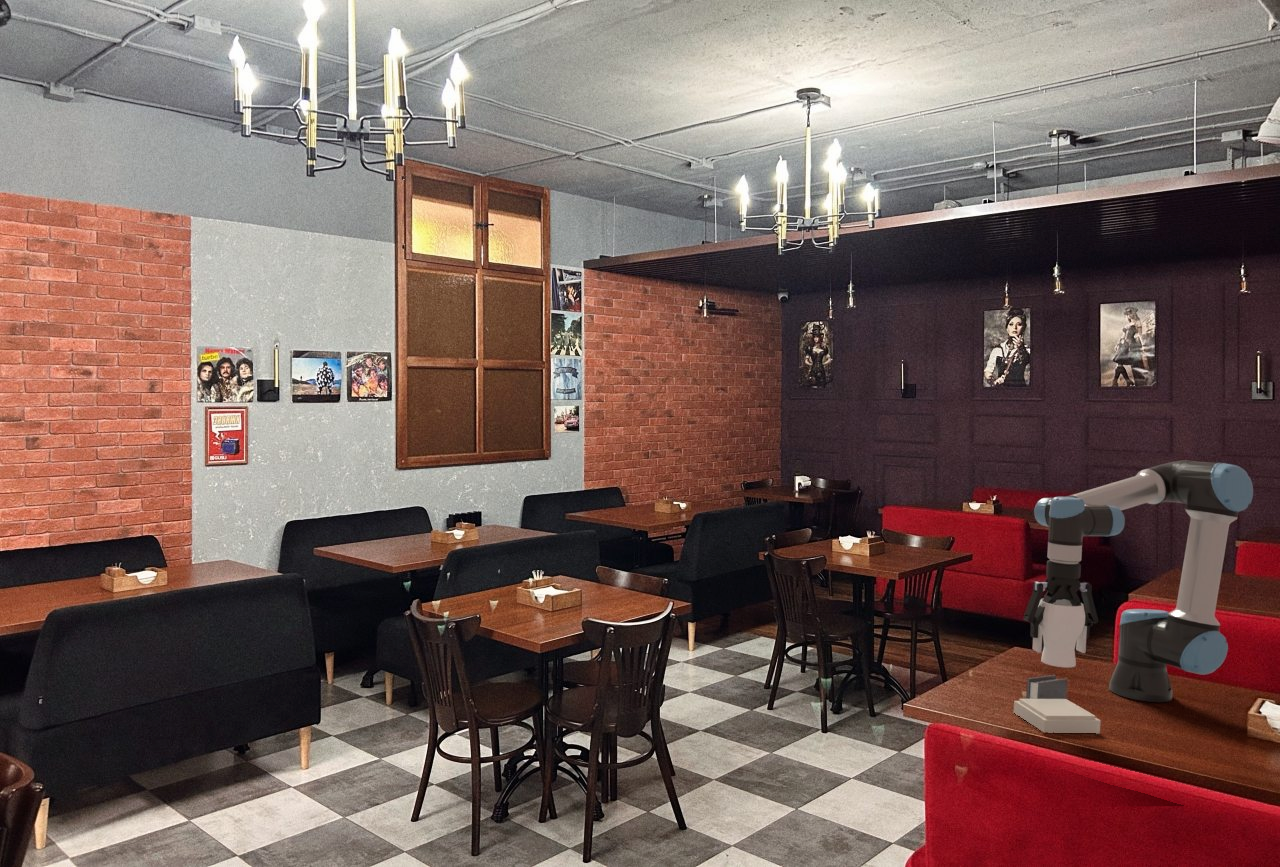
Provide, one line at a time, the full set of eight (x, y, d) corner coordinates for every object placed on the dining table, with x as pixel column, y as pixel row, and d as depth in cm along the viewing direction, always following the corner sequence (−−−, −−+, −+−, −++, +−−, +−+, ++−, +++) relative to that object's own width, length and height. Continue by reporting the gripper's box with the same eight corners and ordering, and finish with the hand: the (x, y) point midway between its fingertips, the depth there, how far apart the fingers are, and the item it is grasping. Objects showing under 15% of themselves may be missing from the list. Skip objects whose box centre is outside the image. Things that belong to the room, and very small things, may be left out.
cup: (1087, 671, 219) (1091, 608, 218) (1039, 667, 221) (1043, 604, 220) (1076, 659, 229) (1079, 599, 228) (1030, 655, 231) (1033, 595, 231)
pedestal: (1066, 713, 233) (1067, 697, 233) (1099, 733, 219) (1100, 717, 219) (1013, 713, 232) (1014, 697, 231) (1043, 733, 218) (1044, 717, 217)
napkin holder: (1052, 701, 243) (1054, 674, 243) (1065, 705, 239) (1067, 679, 239) (1025, 705, 238) (1027, 678, 238) (1038, 710, 235) (1040, 683, 235)
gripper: (1099, 559, 229) (1094, 647, 230) (1010, 557, 227) (1006, 646, 227) (1118, 564, 221) (1112, 655, 222) (1026, 562, 219) (1021, 655, 220)
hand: (1058, 651), depth 225 cm, fingers closed on cup, 11 cm apart
